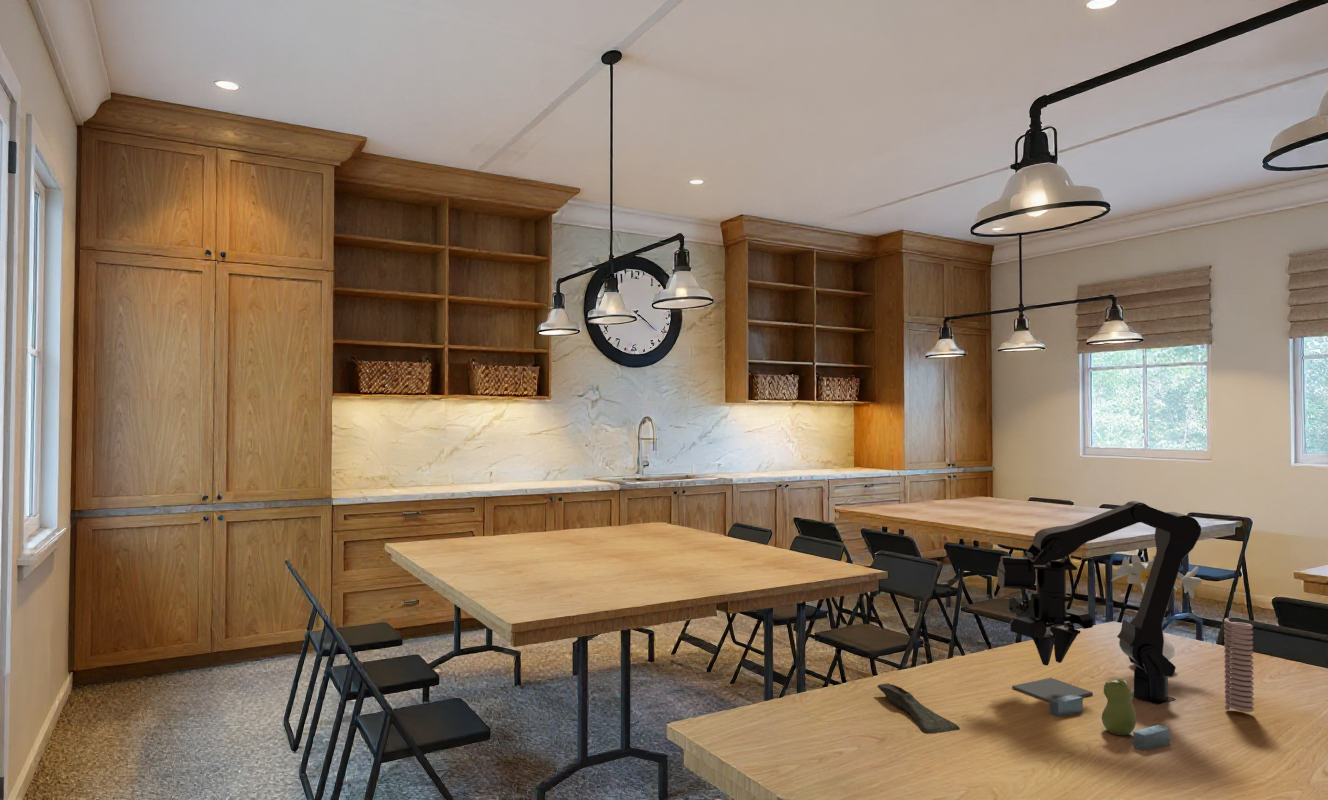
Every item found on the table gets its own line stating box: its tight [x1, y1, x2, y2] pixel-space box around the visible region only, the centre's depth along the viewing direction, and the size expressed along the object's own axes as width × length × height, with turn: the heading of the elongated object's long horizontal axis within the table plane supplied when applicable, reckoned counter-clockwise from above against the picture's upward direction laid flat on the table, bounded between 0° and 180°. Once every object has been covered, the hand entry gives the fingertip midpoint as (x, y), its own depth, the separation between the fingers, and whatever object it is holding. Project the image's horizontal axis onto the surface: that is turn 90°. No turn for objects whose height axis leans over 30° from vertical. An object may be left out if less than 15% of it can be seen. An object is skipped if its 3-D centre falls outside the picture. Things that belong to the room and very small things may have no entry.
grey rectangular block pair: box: [1048, 694, 1171, 752], centre depth 147 cm, size 7×19×3 cm, turn 25°
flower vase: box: [1110, 554, 1202, 661], centre depth 186 cm, size 13×18×25 cm
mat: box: [1011, 677, 1094, 703], centre depth 167 cm, size 12×10×1 cm
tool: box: [876, 683, 960, 735], centre depth 154 cm, size 21×8×3 cm, turn 18°
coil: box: [1223, 617, 1255, 713], centre depth 156 cm, size 5×5×18 cm
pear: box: [1101, 679, 1137, 737], centre depth 145 cm, size 6×5×10 cm
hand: (1052, 663), depth 167 cm, fingers open, 4 cm apart
